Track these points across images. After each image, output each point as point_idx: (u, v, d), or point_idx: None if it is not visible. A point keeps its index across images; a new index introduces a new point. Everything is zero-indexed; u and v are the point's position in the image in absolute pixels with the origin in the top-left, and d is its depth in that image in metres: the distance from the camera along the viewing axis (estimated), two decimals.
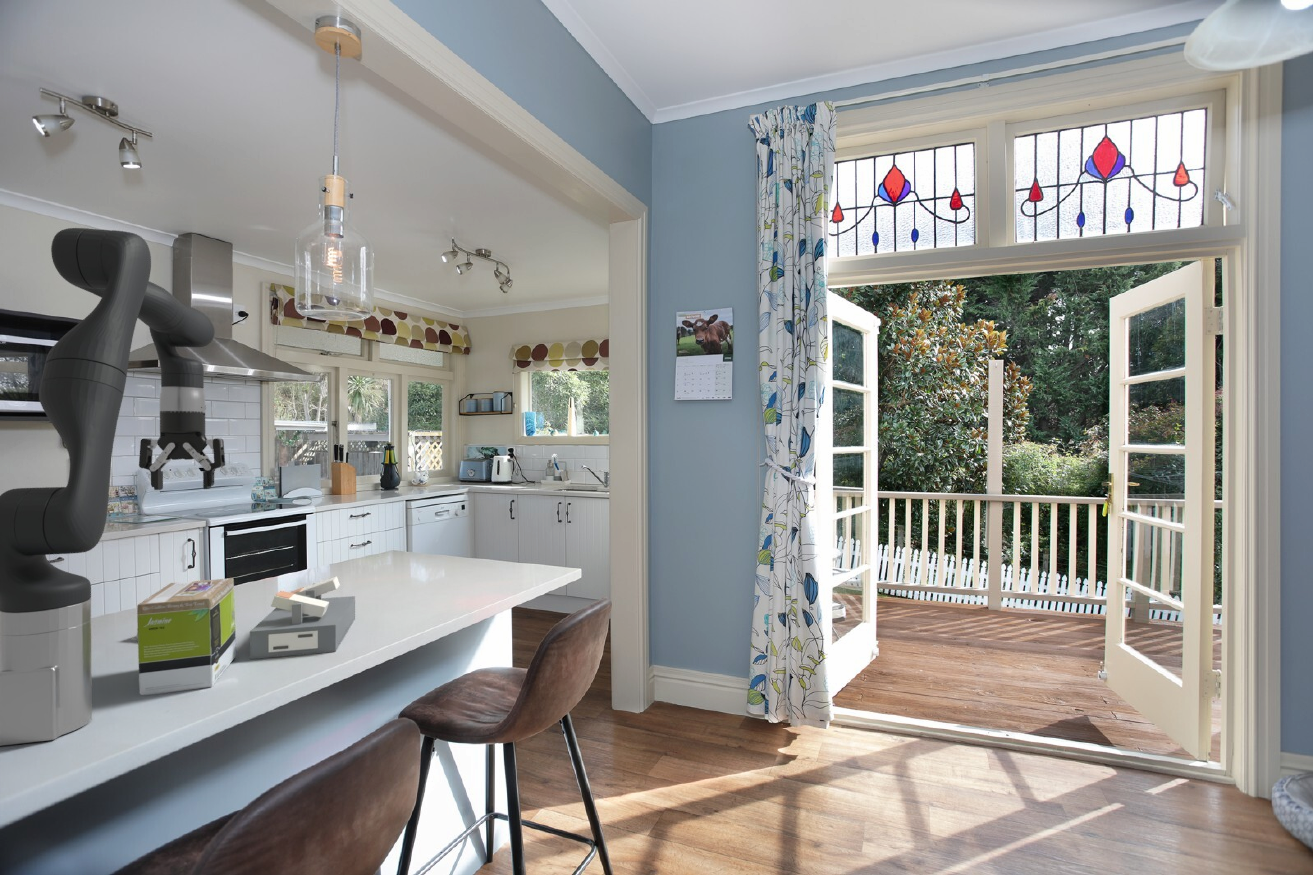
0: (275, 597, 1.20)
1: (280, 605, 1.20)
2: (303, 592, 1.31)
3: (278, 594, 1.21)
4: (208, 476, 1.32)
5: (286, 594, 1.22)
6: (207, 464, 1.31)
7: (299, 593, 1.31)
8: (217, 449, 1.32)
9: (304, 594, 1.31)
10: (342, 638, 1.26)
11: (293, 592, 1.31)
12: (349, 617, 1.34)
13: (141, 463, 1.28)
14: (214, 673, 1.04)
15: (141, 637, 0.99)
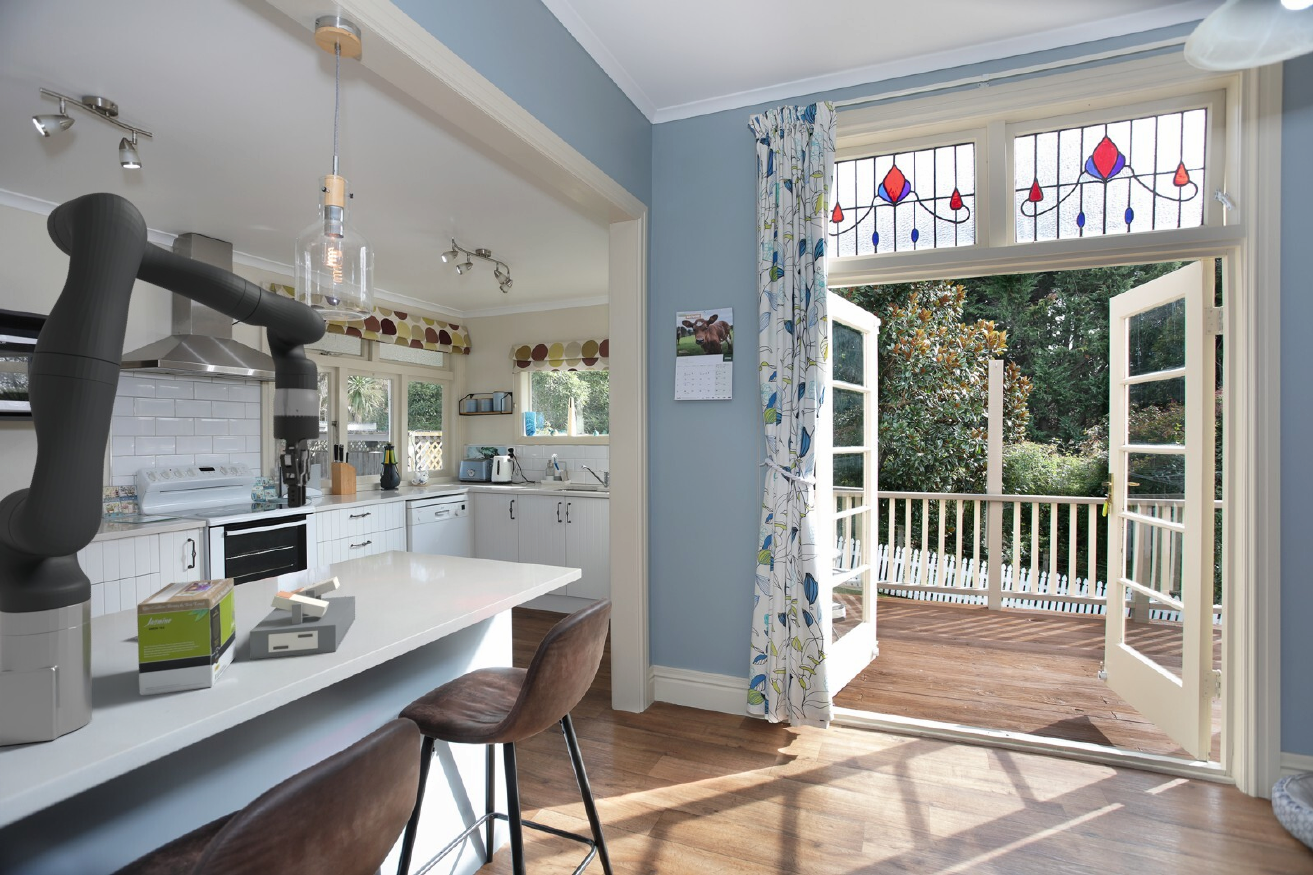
0: (275, 597, 1.20)
1: (280, 605, 1.20)
2: (303, 592, 1.31)
3: (278, 594, 1.21)
4: None
5: (286, 594, 1.22)
6: (307, 478, 1.23)
7: (299, 593, 1.31)
8: (310, 463, 1.26)
9: (304, 594, 1.31)
10: (342, 638, 1.26)
11: (293, 592, 1.31)
12: (349, 617, 1.34)
13: (298, 478, 1.16)
14: (214, 673, 1.04)
15: (141, 637, 0.99)
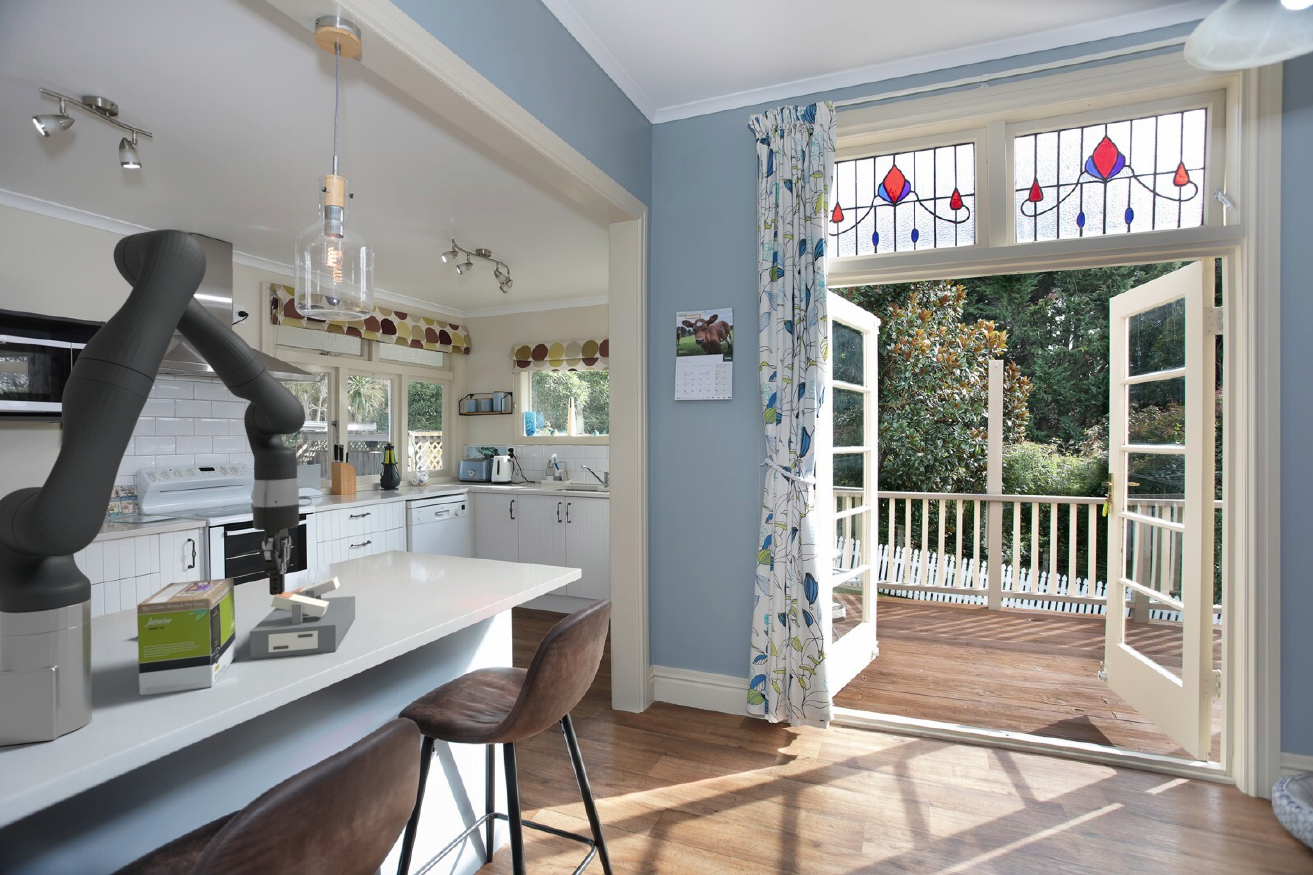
0: (275, 597, 1.20)
1: (280, 605, 1.20)
2: (303, 592, 1.31)
3: (278, 594, 1.21)
4: None
5: (286, 594, 1.22)
6: (285, 566, 1.23)
7: (299, 593, 1.31)
8: (290, 549, 1.26)
9: (304, 594, 1.31)
10: (342, 638, 1.26)
11: (293, 592, 1.31)
12: (349, 617, 1.34)
13: (280, 568, 1.19)
14: (214, 673, 1.04)
15: (141, 637, 0.99)
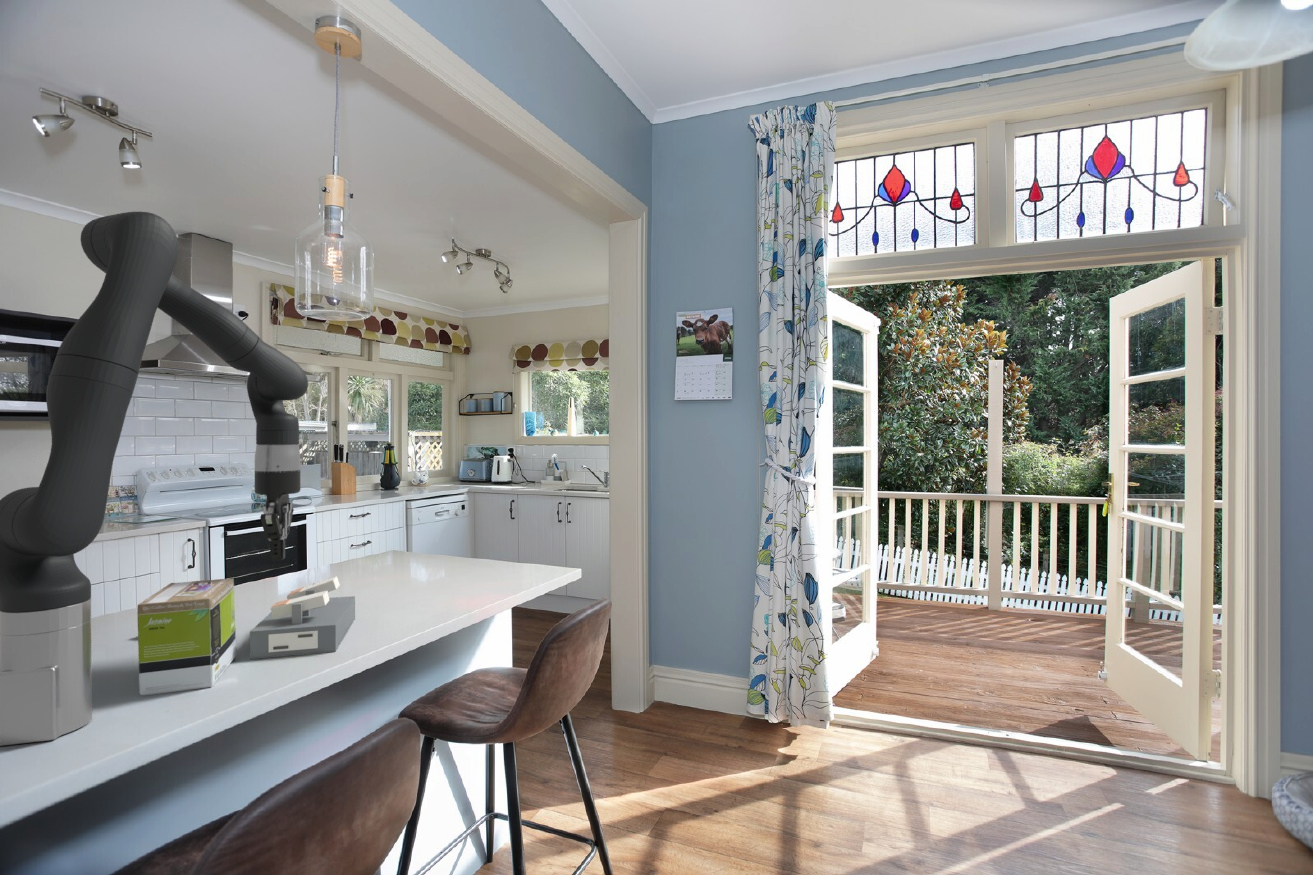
0: (272, 609, 1.20)
1: (281, 613, 1.20)
2: (303, 592, 1.31)
3: (274, 605, 1.20)
4: None
5: (282, 602, 1.22)
6: (286, 532, 1.23)
7: (299, 593, 1.31)
8: (291, 517, 1.26)
9: (304, 594, 1.31)
10: (342, 638, 1.26)
11: (293, 592, 1.31)
12: (349, 617, 1.34)
13: (281, 533, 1.19)
14: (214, 673, 1.04)
15: (141, 637, 0.99)
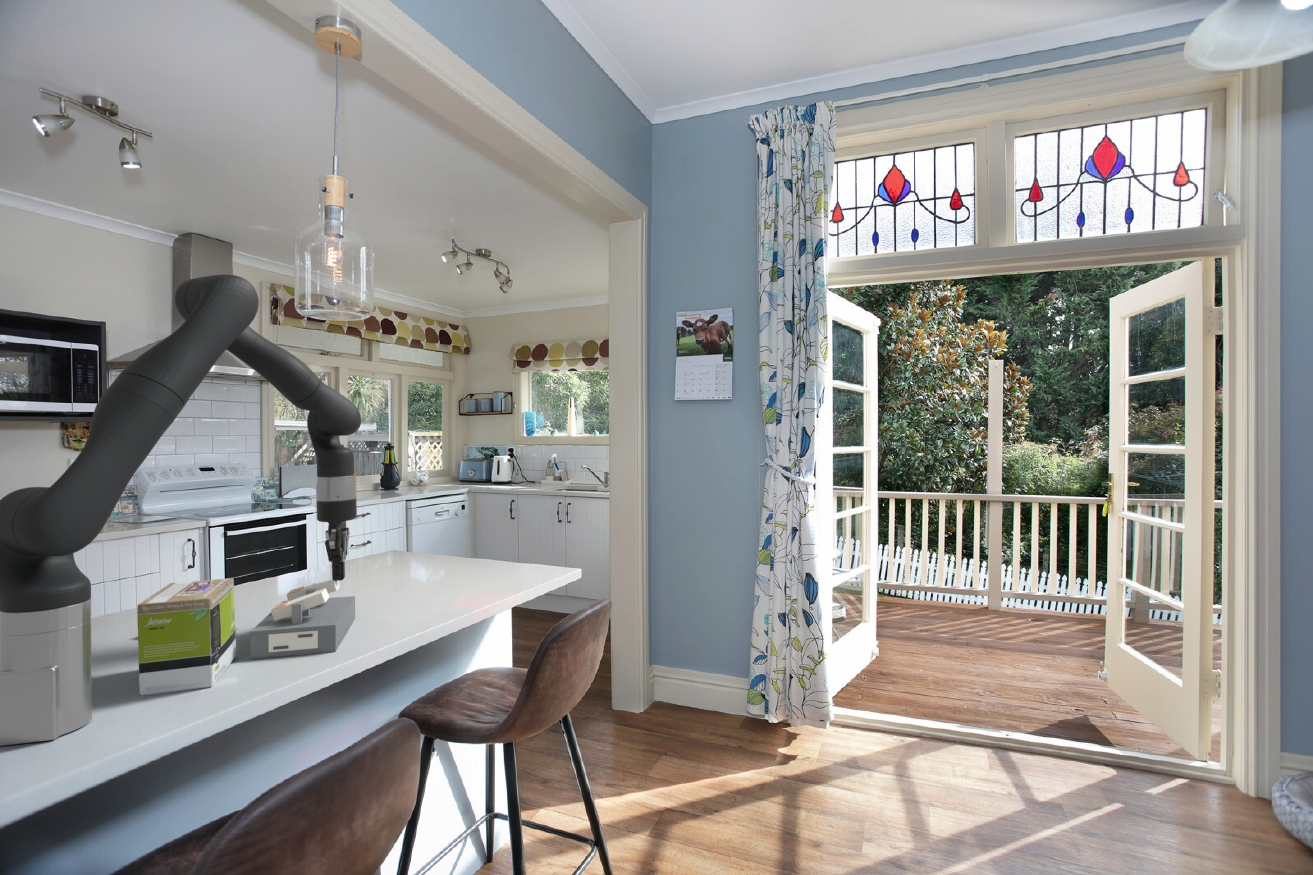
0: (272, 611, 1.20)
1: (282, 615, 1.20)
2: (303, 591, 1.31)
3: (274, 608, 1.20)
4: None
5: (282, 604, 1.22)
6: (345, 554, 1.36)
7: (299, 592, 1.31)
8: None
9: (304, 594, 1.31)
10: (342, 638, 1.26)
11: (293, 591, 1.31)
12: (349, 617, 1.34)
13: (342, 556, 1.32)
14: (214, 673, 1.04)
15: (141, 637, 0.99)
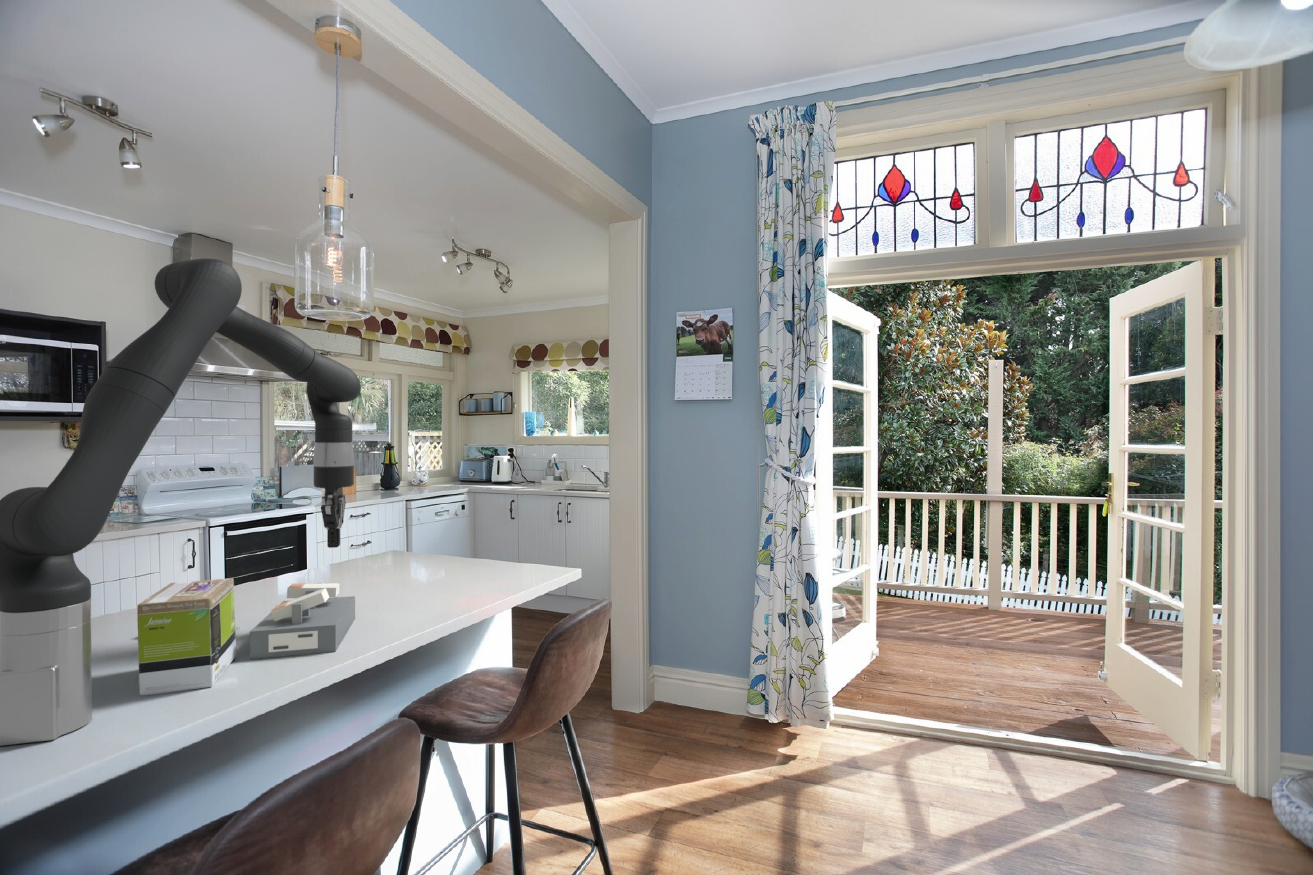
0: (272, 612, 1.20)
1: (282, 615, 1.20)
2: (304, 589, 1.31)
3: (274, 608, 1.20)
4: None
5: (282, 604, 1.22)
6: (341, 522, 1.36)
7: (300, 589, 1.31)
8: (344, 508, 1.39)
9: (304, 592, 1.31)
10: (342, 638, 1.26)
11: (294, 586, 1.32)
12: (349, 617, 1.34)
13: (337, 522, 1.32)
14: (214, 673, 1.04)
15: (141, 637, 0.99)
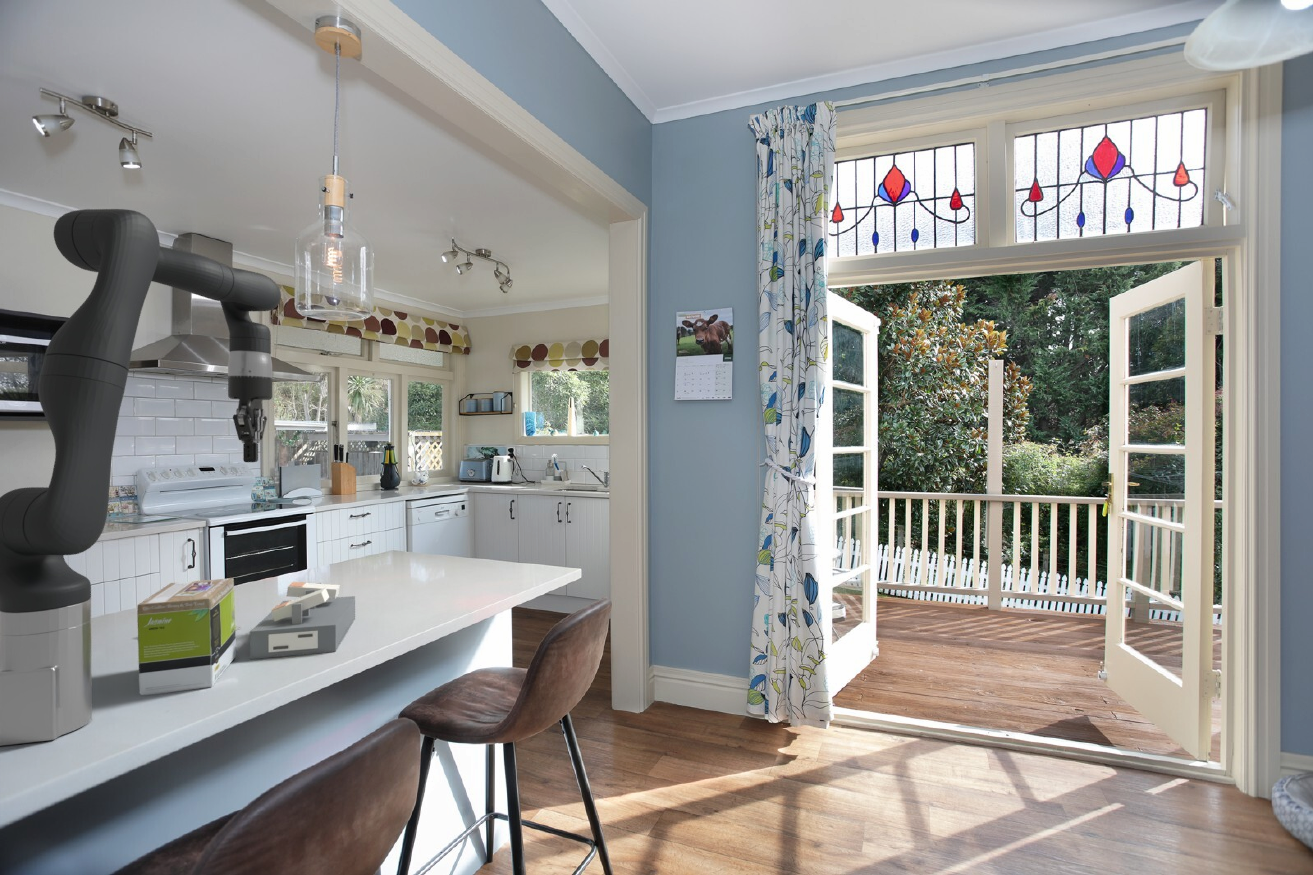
0: (272, 612, 1.20)
1: (282, 615, 1.20)
2: (304, 589, 1.31)
3: (274, 608, 1.20)
4: None
5: (282, 604, 1.22)
6: (259, 437, 1.30)
7: (300, 588, 1.31)
8: (264, 425, 1.33)
9: (304, 591, 1.31)
10: (342, 638, 1.26)
11: (295, 584, 1.32)
12: (349, 617, 1.34)
13: (253, 435, 1.26)
14: (214, 673, 1.04)
15: (141, 637, 0.99)
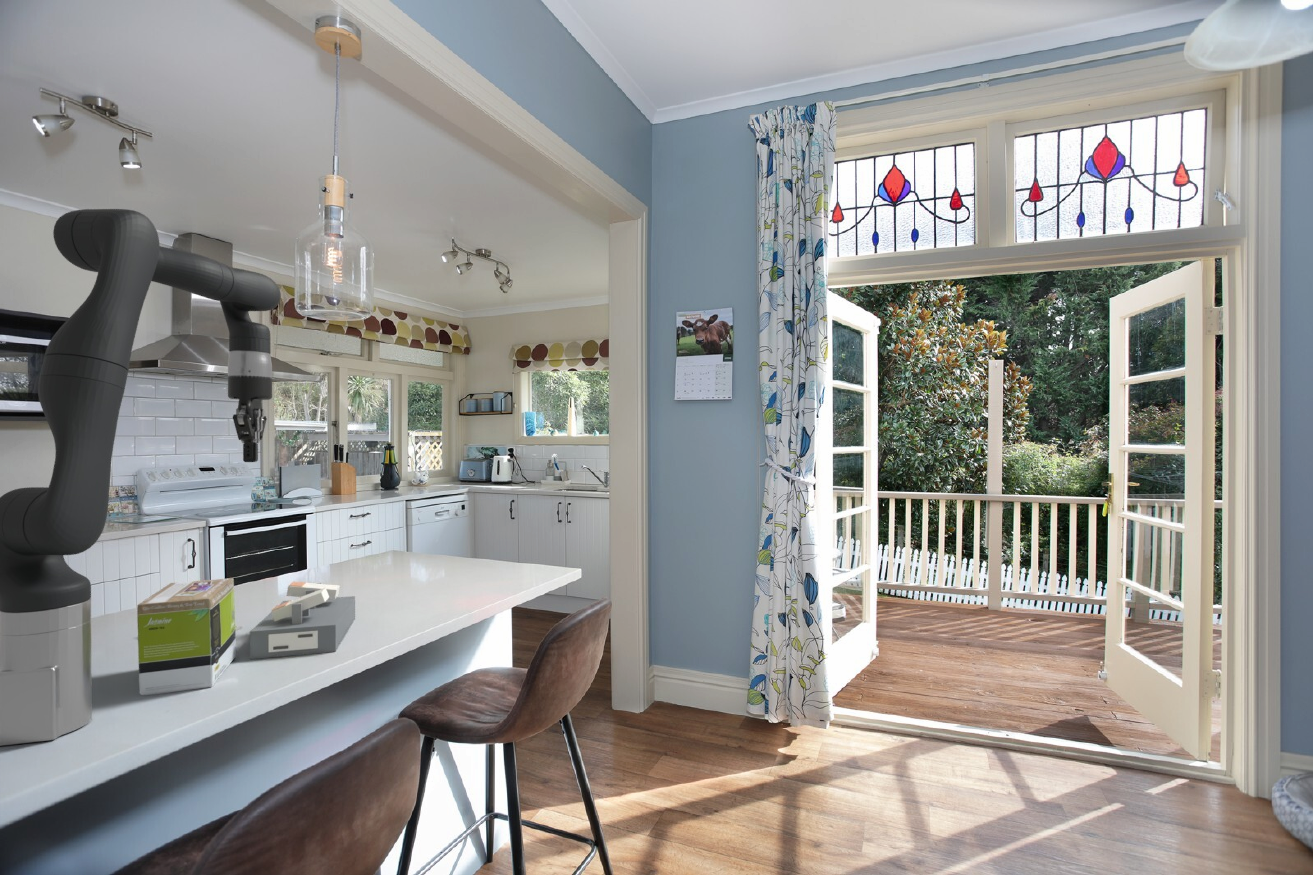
0: (272, 612, 1.20)
1: (282, 615, 1.20)
2: (304, 589, 1.31)
3: (274, 608, 1.20)
4: None
5: (282, 604, 1.22)
6: (259, 437, 1.30)
7: (300, 588, 1.31)
8: (264, 425, 1.33)
9: (304, 591, 1.31)
10: (342, 638, 1.26)
11: (295, 584, 1.32)
12: (349, 617, 1.34)
13: (253, 435, 1.26)
14: (214, 673, 1.04)
15: (141, 637, 0.99)
